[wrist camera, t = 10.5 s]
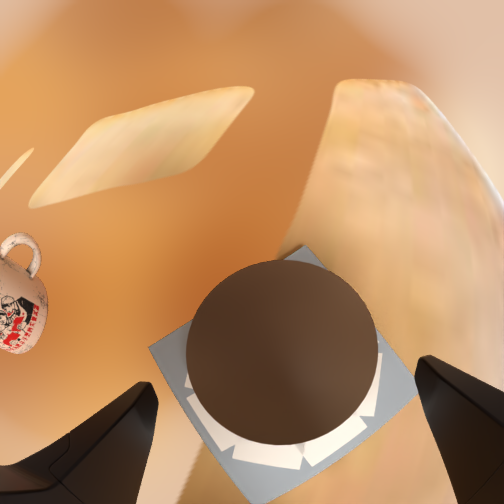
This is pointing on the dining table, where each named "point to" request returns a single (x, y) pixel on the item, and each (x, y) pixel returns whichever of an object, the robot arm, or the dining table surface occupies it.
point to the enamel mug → (21, 298)
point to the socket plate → (271, 475)
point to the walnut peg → (282, 352)
